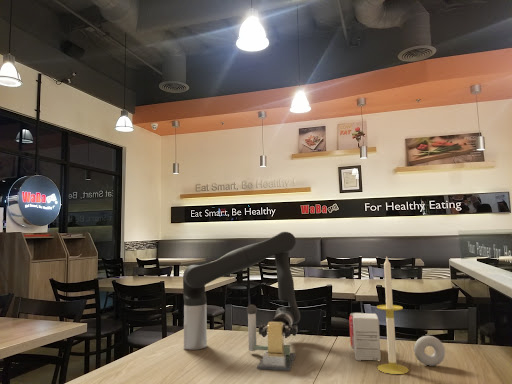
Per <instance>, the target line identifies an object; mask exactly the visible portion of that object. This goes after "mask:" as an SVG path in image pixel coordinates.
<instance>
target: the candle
mask: <svg viewBox="0 0 512 384" xmlns="http://www.w3.org/2000/svg"><path fill="white" fill-rule="evenodd" d="M391 268H392V267H391V262H390V261H389V258H388V257H385V261H384V263H383V271H384V272H383V273H384V290H385V304H379V305H376V307H375V308H377V309H378V310H380V311H381V310H382V311H385V320H386V337H387V357H388V363H381V364H379V365H377V366H376V369H377V368H378V369H377V370H378V371H379V370H380V371H382V372H381V373H383V372H384V374H385V373H390V374H389V375H391V374H403V375H405V374H404V373H407V372H408V371H409V372H410V370H409V369H408V367H406V366H403V365H401V364H397V349H396V332H395V331H396V330H395V315H394V314H395V313H394V311H402V310H403V309H404V308H403V306H401V305H397V304H393V303H394V302H393V286H392V285H393V284H392V270H391ZM380 371H379V372H380ZM409 372H408V373H409ZM408 373H407V374H408Z"/></svg>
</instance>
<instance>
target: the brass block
mask: <svg viewBox="0 0 512 384" xmlns="http://www.w3.org/2000/svg"><path fill="white" fill-rule="evenodd" d="M267 325H268V334H267V346H268V350H267V352H268V353H270V354H284V345H285V342H284V341H285V339H284V338H285V336H284V333H283V322H272V321H268V322H267Z"/></svg>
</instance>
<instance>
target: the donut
mask: <svg viewBox="0 0 512 384" xmlns="http://www.w3.org/2000/svg"><path fill="white" fill-rule="evenodd" d="M428 347H432V348H433V350H434V352H433V353H432V354H431V355H429V354H426V352H425V349H426V348H428ZM413 352H414V356H415V357H416V360H418V362H420V363H421V364H423V365H424V366H427V365H429V366H428V367H434V366H437V365H440V364H441V363H442V362H443V361H444V359H445V356H446V349H445V346H444V344H443V342H442V341H441V340H440V339H439V338H437V337H435V336H433V335H422V336H421V337H419V338H418V339H417V340H416V342H415V344H414V345H413Z"/></svg>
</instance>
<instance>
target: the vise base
mask: <svg viewBox="0 0 512 384" xmlns="http://www.w3.org/2000/svg"><path fill="white" fill-rule="evenodd" d="M295 358H296V352H290V355H286V354H270V353H268V351H266V352H265V353H263V355H262V359H260V361H259V363H258V365H257V366H256V367H257V368H256V369H257V370H261V371H262V370H263V371H283V372H290V371H291V368H292V366H293V363H294V361H295Z"/></svg>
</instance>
